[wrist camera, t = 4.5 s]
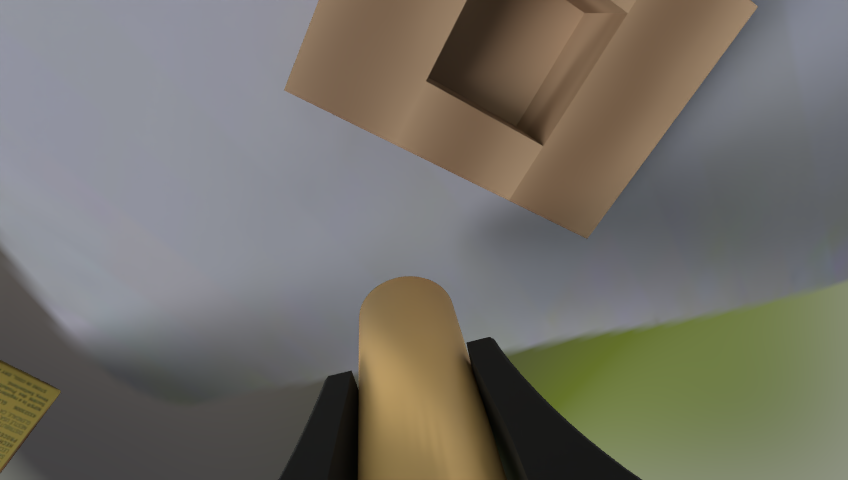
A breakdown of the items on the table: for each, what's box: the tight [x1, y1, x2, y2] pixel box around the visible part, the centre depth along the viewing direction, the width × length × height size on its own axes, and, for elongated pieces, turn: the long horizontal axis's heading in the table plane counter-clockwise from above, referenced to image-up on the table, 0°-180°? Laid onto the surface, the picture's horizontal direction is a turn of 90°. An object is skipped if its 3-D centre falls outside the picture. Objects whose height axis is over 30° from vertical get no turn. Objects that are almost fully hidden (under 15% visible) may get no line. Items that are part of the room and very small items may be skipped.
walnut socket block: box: [284, 0, 758, 239], centre depth 15 cm, size 12×9×4 cm
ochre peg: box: [358, 276, 507, 480], centre depth 11 cm, size 3×3×8 cm
